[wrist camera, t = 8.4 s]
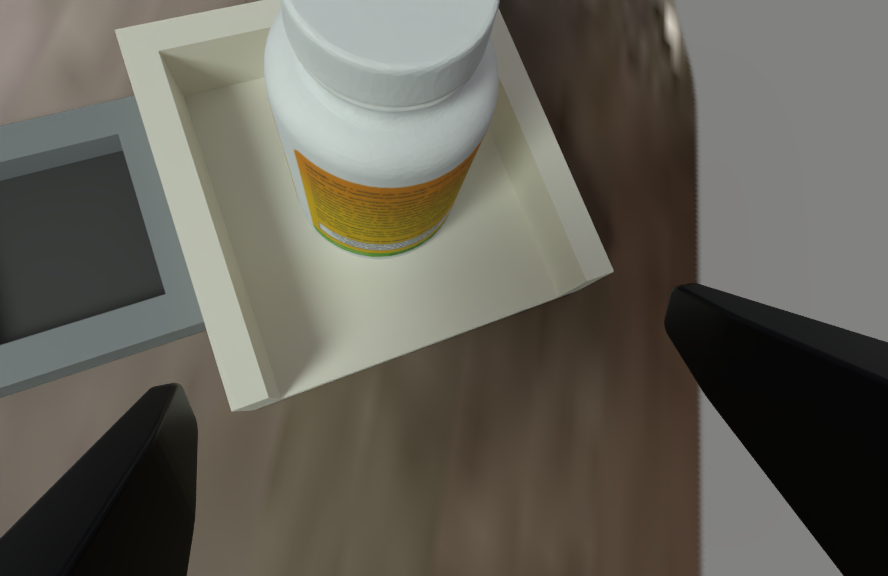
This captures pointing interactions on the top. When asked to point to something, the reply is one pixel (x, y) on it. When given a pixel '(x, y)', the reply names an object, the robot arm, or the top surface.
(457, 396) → the top surface
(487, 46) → the supplement bottle
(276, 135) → the tray
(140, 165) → the holed board
